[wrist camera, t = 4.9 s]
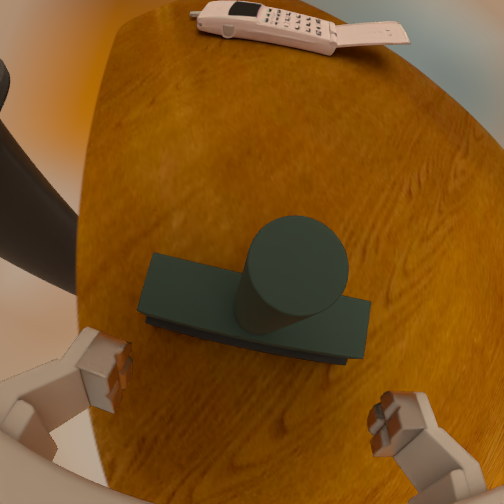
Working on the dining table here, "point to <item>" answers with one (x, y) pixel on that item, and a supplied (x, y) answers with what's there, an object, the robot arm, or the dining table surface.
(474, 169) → the dining table surface
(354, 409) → the dining table surface
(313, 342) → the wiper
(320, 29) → the mobile phone
